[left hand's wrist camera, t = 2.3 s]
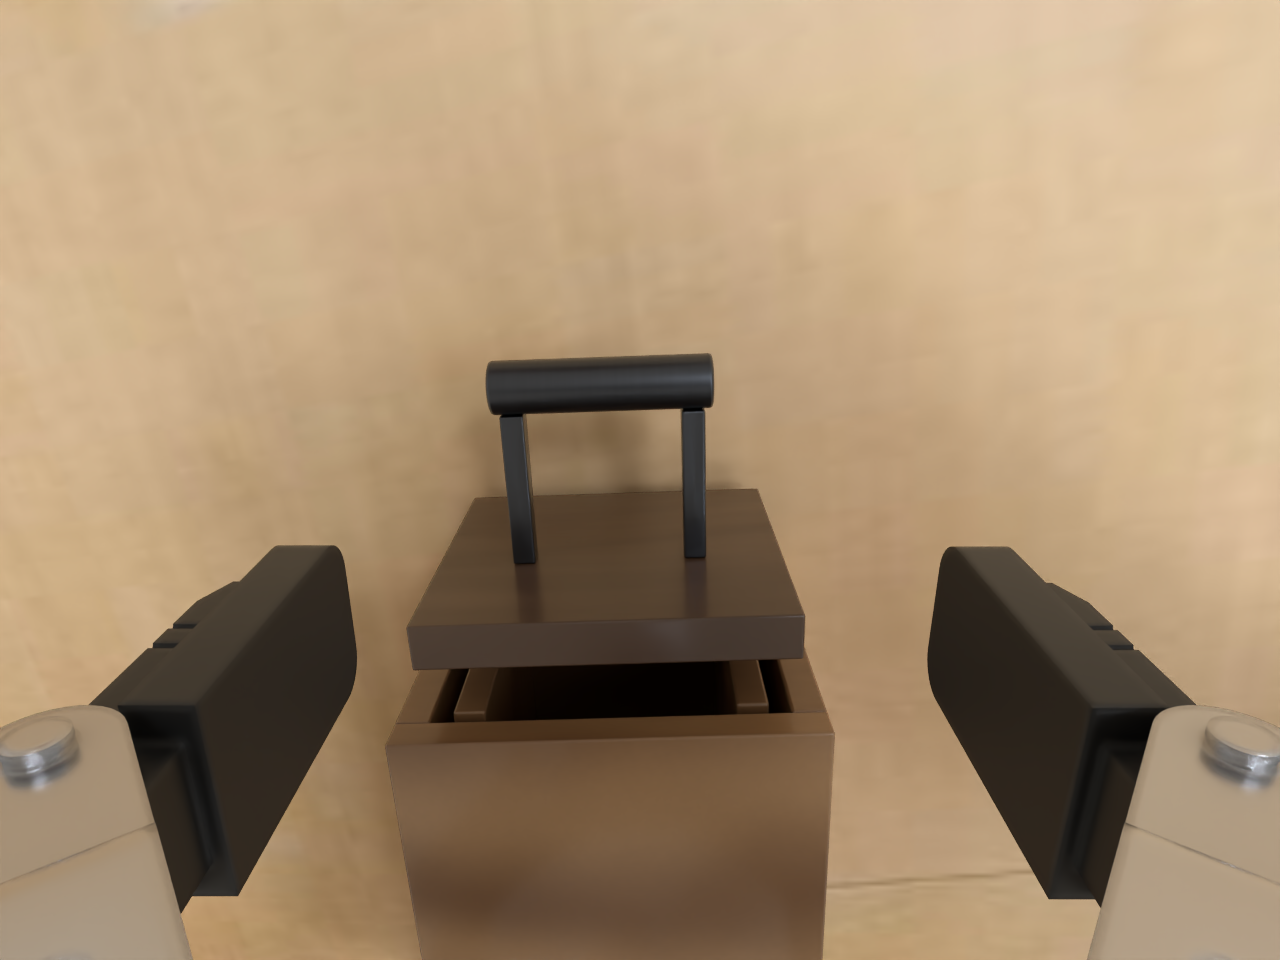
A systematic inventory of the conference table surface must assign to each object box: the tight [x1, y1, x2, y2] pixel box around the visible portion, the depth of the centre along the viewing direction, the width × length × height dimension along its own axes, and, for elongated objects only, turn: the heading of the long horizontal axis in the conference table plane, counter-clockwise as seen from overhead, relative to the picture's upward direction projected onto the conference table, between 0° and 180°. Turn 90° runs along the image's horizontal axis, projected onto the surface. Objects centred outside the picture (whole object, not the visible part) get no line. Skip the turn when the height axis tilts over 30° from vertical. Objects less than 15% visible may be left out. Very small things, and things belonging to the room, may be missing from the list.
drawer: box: [407, 353, 805, 723], centre depth 25 cm, size 25×9×8 cm, turn 2°
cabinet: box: [385, 648, 835, 960], centre depth 27 cm, size 21×10×10 cm, turn 2°
